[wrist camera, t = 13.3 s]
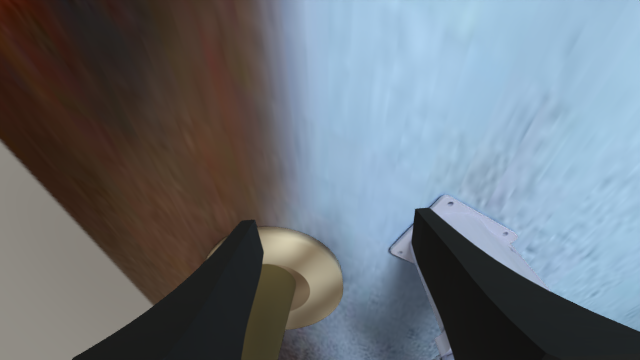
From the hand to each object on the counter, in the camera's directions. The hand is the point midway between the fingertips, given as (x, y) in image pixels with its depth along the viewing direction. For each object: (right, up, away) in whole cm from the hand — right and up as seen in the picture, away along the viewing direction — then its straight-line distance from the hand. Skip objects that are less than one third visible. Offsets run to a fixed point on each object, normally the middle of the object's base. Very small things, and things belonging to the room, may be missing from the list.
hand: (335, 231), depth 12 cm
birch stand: (-6, -9, +17) cm, 20 cm away
